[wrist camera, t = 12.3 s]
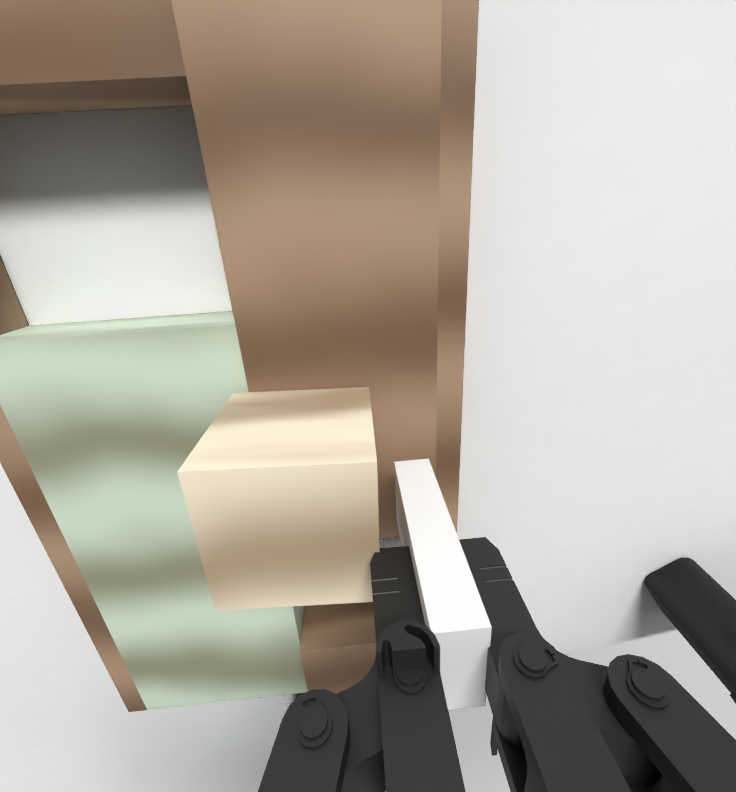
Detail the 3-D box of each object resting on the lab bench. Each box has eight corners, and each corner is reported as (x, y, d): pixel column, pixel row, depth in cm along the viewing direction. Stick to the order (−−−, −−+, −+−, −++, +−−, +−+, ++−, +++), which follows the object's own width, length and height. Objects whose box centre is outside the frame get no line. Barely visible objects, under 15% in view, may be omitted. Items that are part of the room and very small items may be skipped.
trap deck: (-123, 42, 12) (-258, -12, 9) (450, 17, 13) (480, -41, 10) (150, 662, 24) (126, 717, 21) (438, 631, 25) (450, 681, 22)
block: (232, 393, 14) (176, 471, 10) (369, 386, 14) (377, 462, 10) (253, 502, 16) (215, 610, 12) (372, 496, 16) (380, 601, 12)
